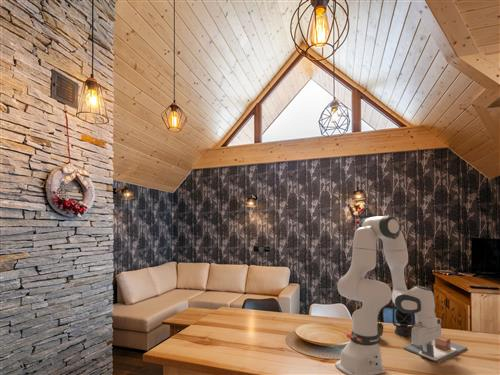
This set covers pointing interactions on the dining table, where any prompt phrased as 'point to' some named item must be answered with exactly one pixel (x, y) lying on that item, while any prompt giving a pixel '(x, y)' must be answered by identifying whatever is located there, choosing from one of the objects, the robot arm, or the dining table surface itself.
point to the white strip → (435, 352)
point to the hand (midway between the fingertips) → (427, 350)
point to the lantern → (403, 322)
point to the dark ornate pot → (380, 329)
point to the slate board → (459, 349)
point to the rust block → (443, 343)
